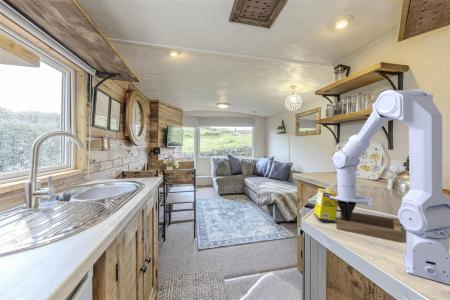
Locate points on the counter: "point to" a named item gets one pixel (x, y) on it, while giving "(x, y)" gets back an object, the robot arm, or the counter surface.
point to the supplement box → (326, 205)
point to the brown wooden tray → (369, 229)
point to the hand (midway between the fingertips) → (347, 221)
